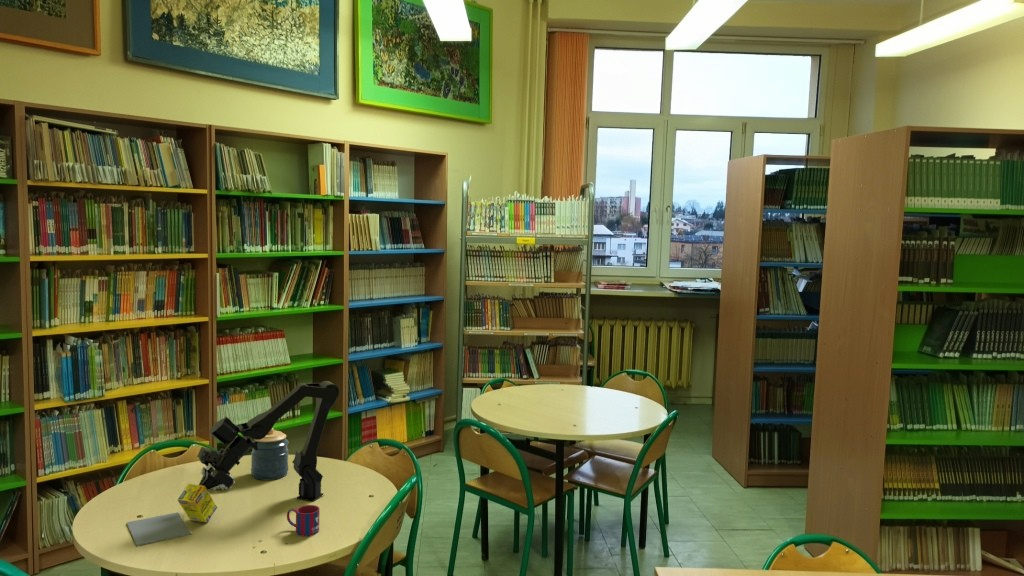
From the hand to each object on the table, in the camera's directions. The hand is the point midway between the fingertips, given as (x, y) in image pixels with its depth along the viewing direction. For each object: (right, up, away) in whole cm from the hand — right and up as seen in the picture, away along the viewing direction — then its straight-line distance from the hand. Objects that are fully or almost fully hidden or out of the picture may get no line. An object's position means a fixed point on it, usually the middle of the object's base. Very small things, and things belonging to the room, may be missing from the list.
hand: (195, 493), depth 207 cm
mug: (+34, -10, -5) cm, 36 cm away
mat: (-8, -8, -8) cm, 13 cm away
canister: (+8, -6, +41) cm, 42 cm away
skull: (-5, -6, +27) cm, 28 cm away
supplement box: (+3, -6, 0) cm, 7 cm away
